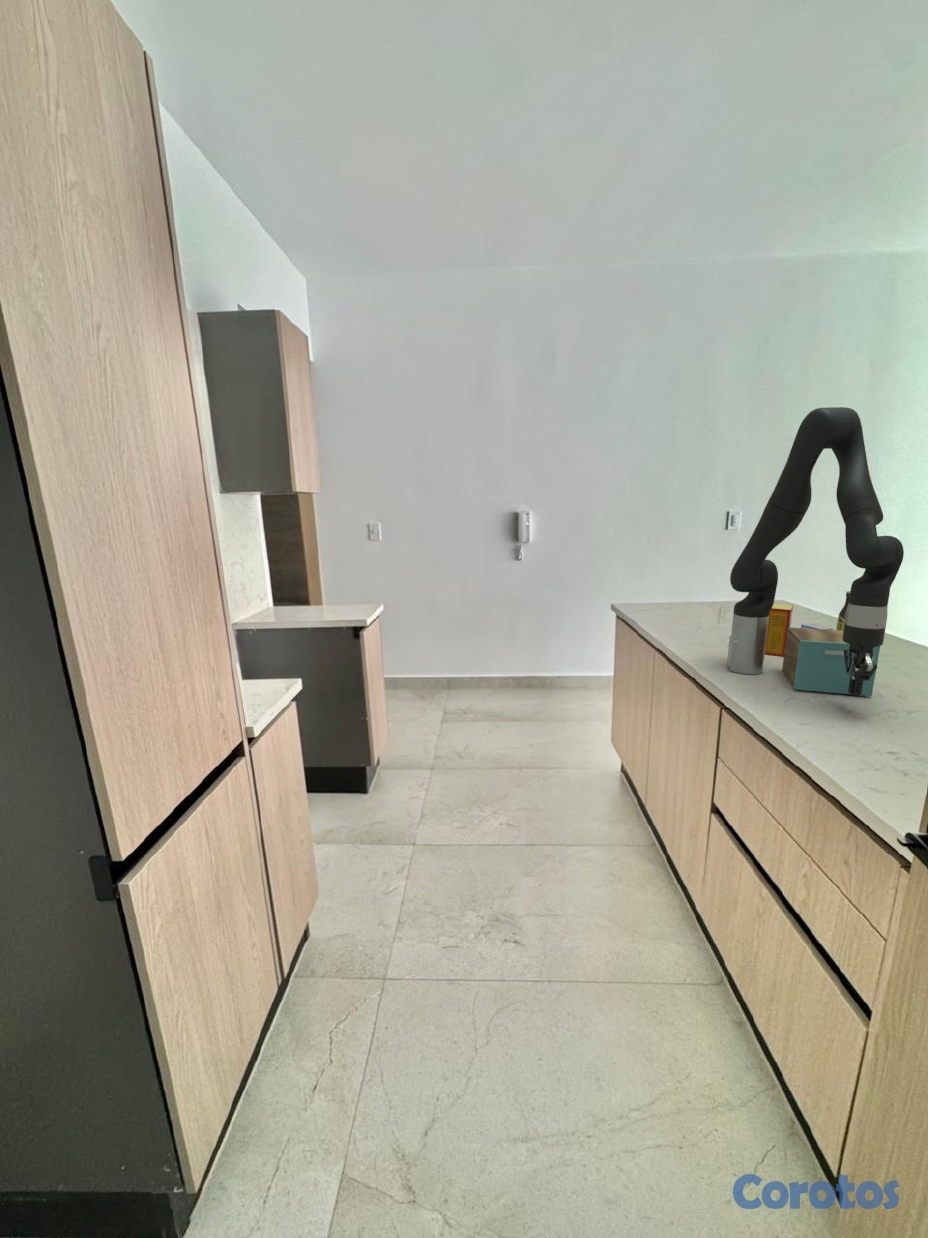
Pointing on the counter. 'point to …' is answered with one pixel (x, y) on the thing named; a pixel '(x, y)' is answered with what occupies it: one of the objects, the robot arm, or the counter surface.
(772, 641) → the baking soda box
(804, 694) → the counter surface
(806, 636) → the cabinet
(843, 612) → the sauce bottle
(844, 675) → the drawer
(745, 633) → the robot arm
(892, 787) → the counter surface
